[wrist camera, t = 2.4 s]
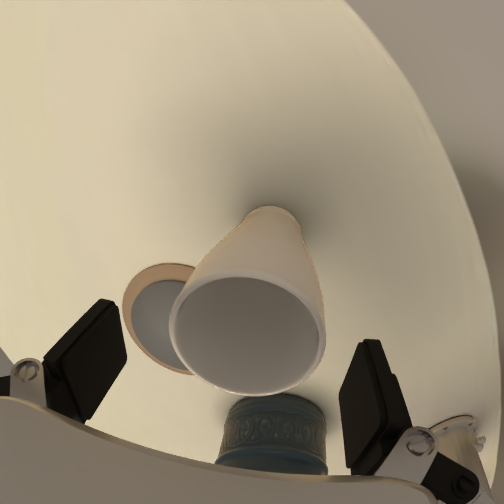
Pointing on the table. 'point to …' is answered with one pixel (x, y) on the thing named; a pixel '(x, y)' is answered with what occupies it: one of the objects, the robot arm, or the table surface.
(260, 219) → the drinking glass
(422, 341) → the table surface
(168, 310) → the round coaster
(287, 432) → the canister
